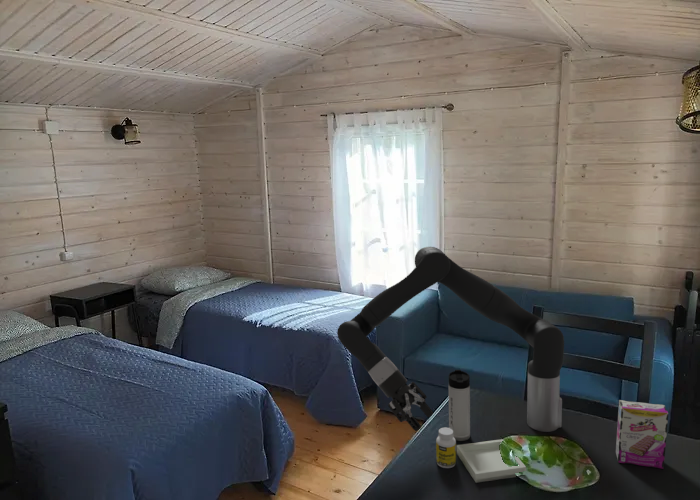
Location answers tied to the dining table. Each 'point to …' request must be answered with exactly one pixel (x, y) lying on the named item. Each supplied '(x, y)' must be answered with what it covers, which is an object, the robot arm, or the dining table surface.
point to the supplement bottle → (446, 448)
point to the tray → (487, 461)
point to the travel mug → (459, 405)
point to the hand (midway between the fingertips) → (425, 422)
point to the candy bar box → (641, 434)
